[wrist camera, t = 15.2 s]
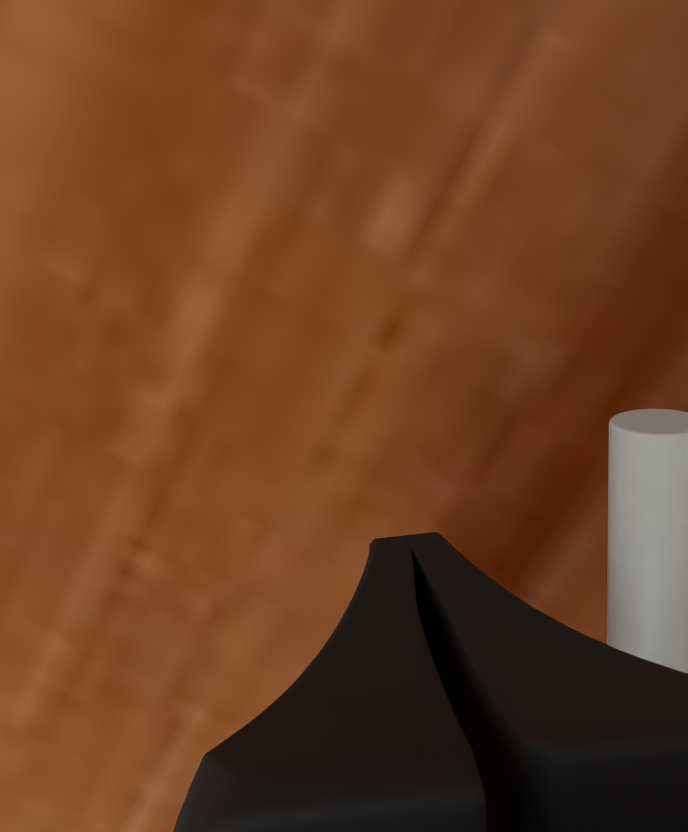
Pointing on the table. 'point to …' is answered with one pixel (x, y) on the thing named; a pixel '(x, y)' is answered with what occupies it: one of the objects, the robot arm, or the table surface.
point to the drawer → (648, 536)
